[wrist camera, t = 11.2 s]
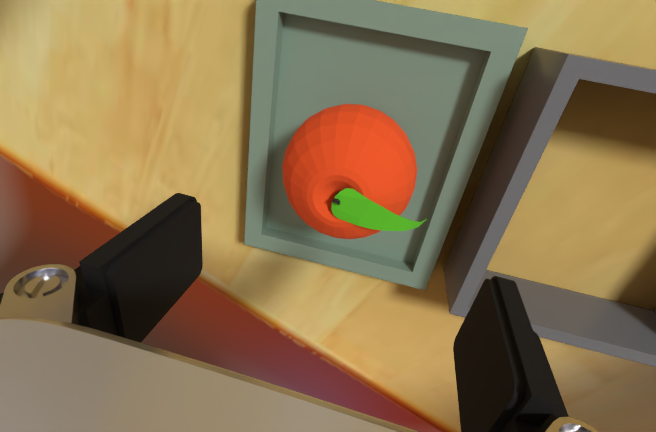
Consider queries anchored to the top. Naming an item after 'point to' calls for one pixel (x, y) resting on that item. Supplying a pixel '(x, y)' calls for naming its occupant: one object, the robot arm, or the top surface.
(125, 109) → the top surface
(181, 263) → the robot arm
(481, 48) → the tray
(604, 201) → the top surface
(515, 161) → the open square sleeve
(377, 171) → the clementine
